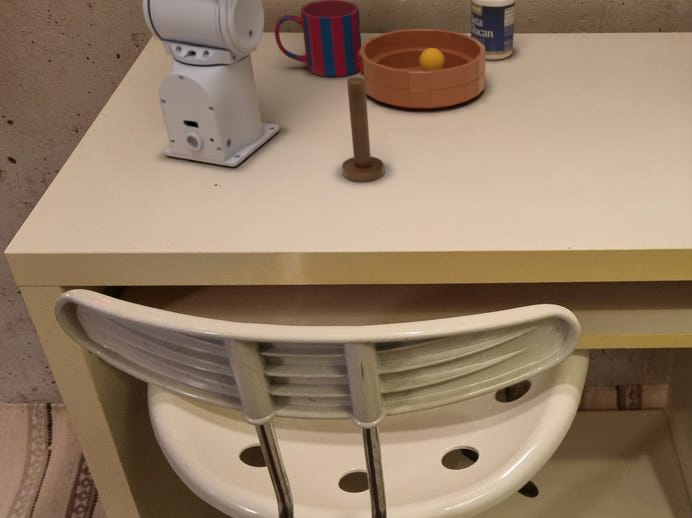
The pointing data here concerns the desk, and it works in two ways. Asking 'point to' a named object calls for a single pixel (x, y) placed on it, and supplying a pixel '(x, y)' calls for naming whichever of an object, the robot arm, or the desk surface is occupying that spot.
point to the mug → (328, 37)
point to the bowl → (410, 80)
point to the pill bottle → (493, 26)
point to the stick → (360, 137)
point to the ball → (431, 60)
